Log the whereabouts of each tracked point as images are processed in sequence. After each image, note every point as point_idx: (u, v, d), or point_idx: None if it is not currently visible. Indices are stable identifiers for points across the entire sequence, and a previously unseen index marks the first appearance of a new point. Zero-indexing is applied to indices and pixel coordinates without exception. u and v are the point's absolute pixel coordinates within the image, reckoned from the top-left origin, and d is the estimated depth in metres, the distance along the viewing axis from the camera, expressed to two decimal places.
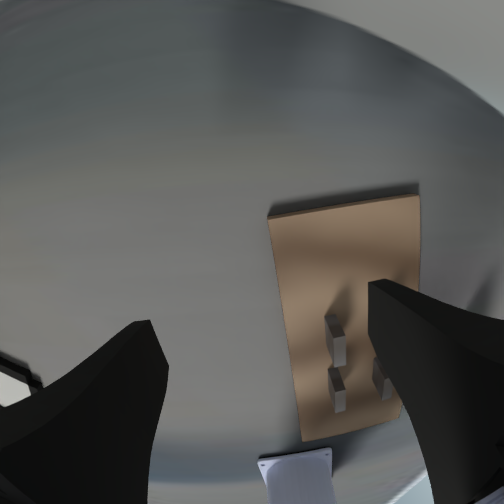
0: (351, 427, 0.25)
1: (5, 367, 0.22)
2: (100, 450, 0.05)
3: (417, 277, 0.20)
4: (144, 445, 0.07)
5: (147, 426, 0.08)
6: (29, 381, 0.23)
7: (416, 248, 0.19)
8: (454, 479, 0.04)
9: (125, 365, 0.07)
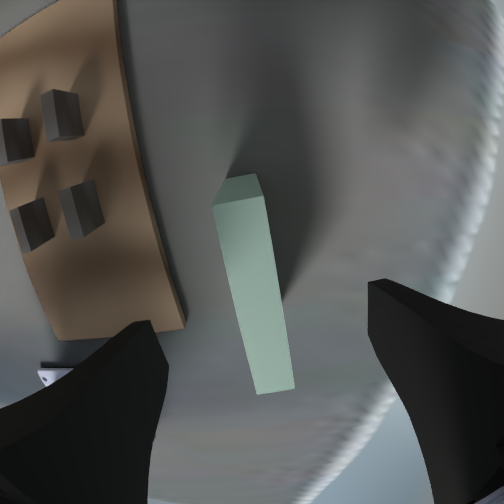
0: (107, 327, 0.18)
1: None
2: (100, 450, 0.05)
3: (115, 54, 0.12)
4: (144, 445, 0.07)
5: (147, 426, 0.08)
6: None
7: (109, 23, 0.12)
8: (453, 479, 0.04)
9: (125, 365, 0.07)
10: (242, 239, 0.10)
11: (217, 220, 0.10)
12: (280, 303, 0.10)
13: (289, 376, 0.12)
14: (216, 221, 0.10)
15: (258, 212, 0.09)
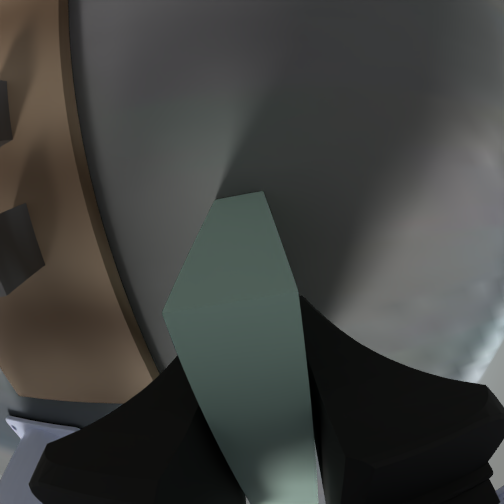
0: (69, 391, 0.12)
1: None
2: (220, 453, 0.05)
3: (55, 20, 0.07)
4: None
5: None
6: None
7: None
8: None
9: None
10: (241, 380, 0.04)
11: (180, 344, 0.04)
12: (313, 460, 0.05)
13: None
14: (178, 346, 0.04)
15: (283, 329, 0.04)
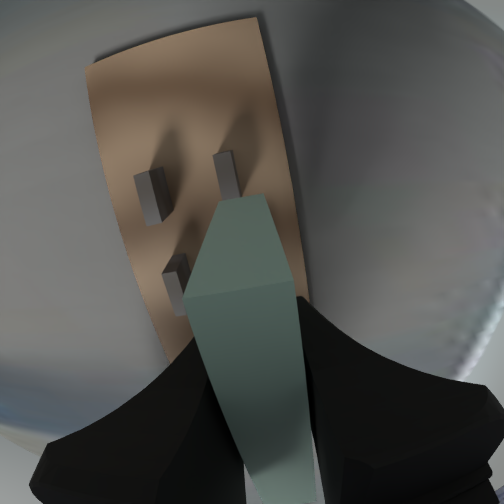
0: None
1: None
2: (220, 453, 0.05)
3: (276, 114, 0.15)
4: None
5: None
6: None
7: (264, 75, 0.14)
8: None
9: None
10: (246, 357, 0.05)
11: (196, 325, 0.05)
12: (309, 435, 0.06)
13: (311, 493, 0.07)
14: (194, 327, 0.05)
15: (282, 312, 0.04)
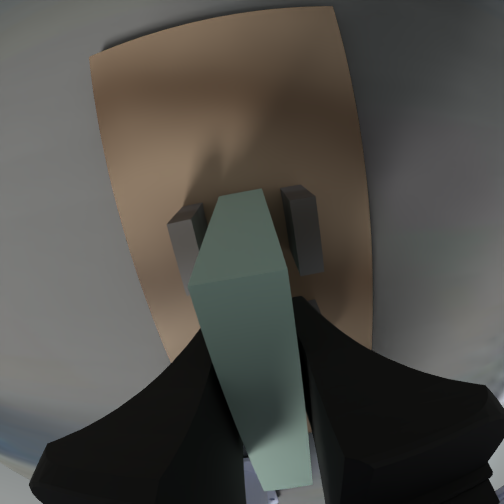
0: None
1: None
2: (220, 453, 0.05)
3: (358, 140, 0.11)
4: (239, 443, 0.07)
5: None
6: None
7: (345, 85, 0.10)
8: None
9: None
10: (245, 339, 0.05)
11: (200, 310, 0.05)
12: (304, 416, 0.06)
13: (307, 476, 0.07)
14: (198, 312, 0.05)
15: (277, 297, 0.05)
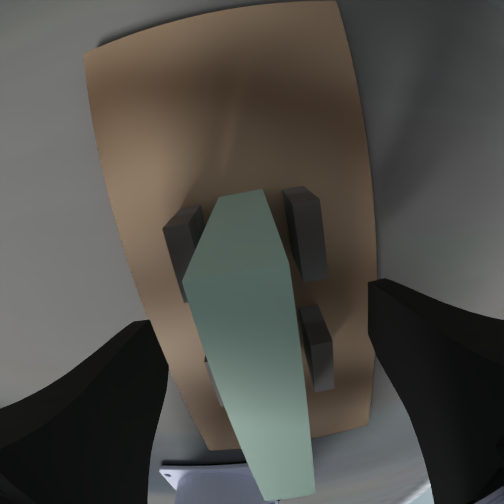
0: None
1: None
2: (100, 450, 0.05)
3: (363, 140, 0.10)
4: (144, 445, 0.07)
5: (147, 426, 0.08)
6: None
7: (349, 83, 0.10)
8: (453, 480, 0.04)
9: (125, 365, 0.07)
10: (244, 339, 0.05)
11: (195, 308, 0.05)
12: (307, 422, 0.06)
13: (310, 485, 0.07)
14: (193, 310, 0.05)
15: (278, 294, 0.05)
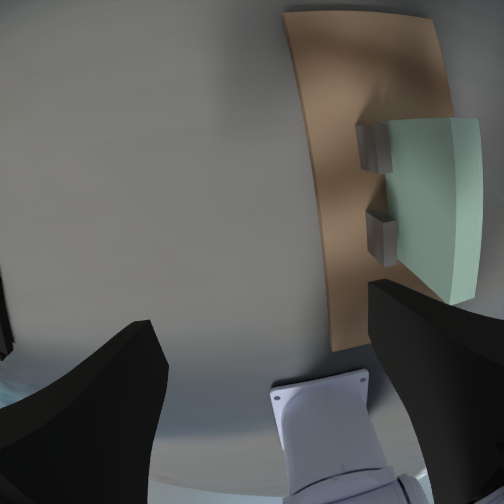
0: None
1: None
2: (100, 450, 0.05)
3: (449, 101, 0.15)
4: (144, 445, 0.07)
5: (147, 426, 0.08)
6: None
7: (441, 68, 0.14)
8: (454, 479, 0.04)
9: (125, 365, 0.07)
10: (466, 148, 0.09)
11: (453, 130, 0.09)
12: (482, 208, 0.10)
13: (474, 283, 0.11)
14: (452, 130, 0.09)
15: (476, 130, 0.09)
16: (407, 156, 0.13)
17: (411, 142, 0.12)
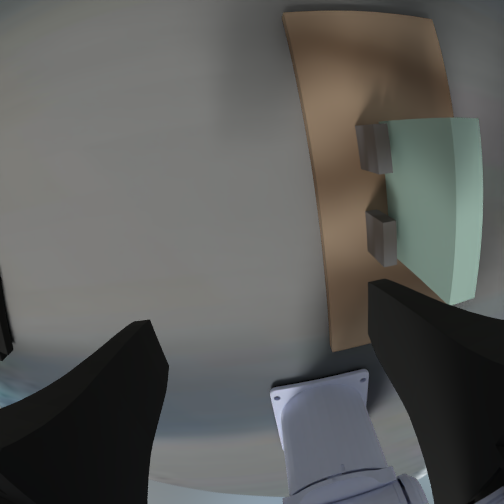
0: None
1: None
2: (100, 450, 0.05)
3: (449, 101, 0.15)
4: (144, 445, 0.07)
5: (147, 426, 0.08)
6: None
7: (441, 68, 0.14)
8: (454, 479, 0.04)
9: (125, 365, 0.07)
10: (466, 148, 0.09)
11: (453, 130, 0.09)
12: (482, 208, 0.10)
13: (474, 283, 0.11)
14: (452, 130, 0.09)
15: (476, 130, 0.09)
16: (407, 156, 0.13)
17: (411, 142, 0.12)
